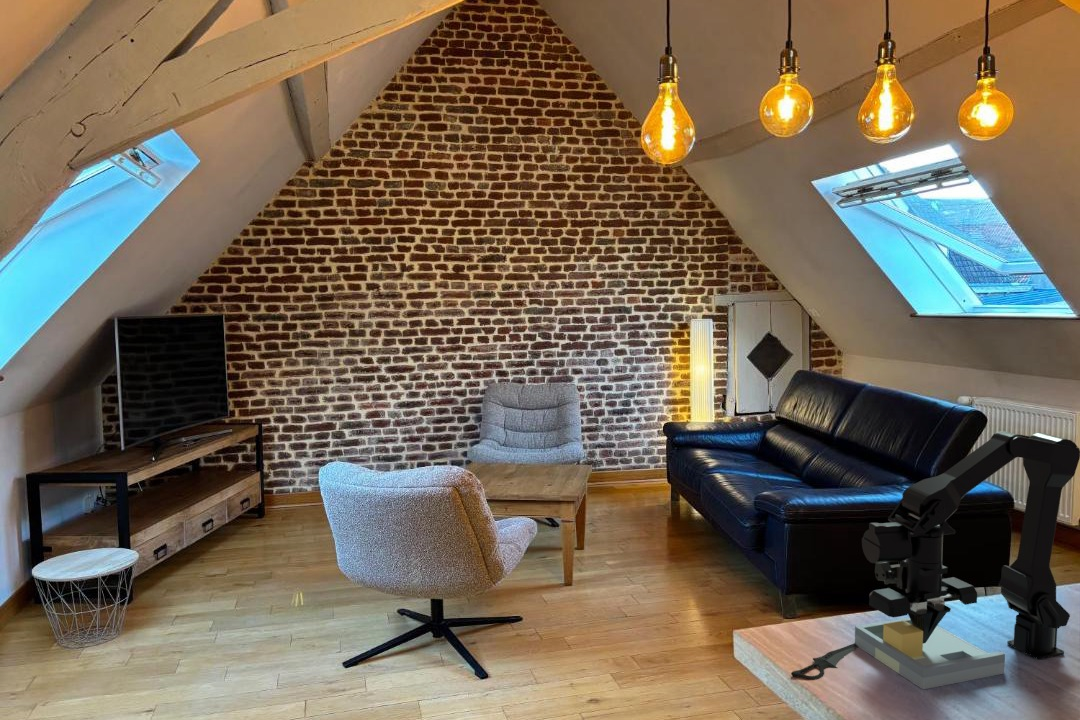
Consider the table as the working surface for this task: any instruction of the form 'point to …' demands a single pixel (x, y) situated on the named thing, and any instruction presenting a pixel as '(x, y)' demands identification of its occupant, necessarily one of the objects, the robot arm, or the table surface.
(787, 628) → the table surface
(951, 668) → the tray
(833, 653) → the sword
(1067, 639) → the table surface
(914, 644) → the block
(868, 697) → the table surface
